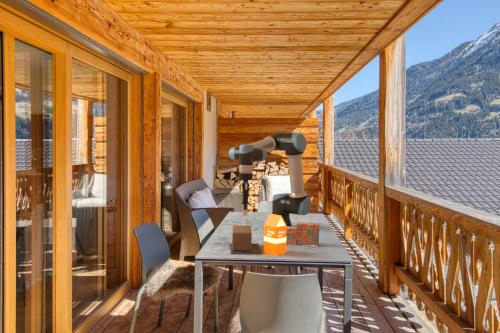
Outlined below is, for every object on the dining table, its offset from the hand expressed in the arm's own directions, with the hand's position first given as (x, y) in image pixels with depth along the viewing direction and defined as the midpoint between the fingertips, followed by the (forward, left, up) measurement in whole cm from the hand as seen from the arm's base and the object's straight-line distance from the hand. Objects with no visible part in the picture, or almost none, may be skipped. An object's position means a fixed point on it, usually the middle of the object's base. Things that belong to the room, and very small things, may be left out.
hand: (245, 215), depth 241 cm
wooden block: (+2, -4, -11) cm, 12 cm away
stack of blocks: (-32, -5, -17) cm, 36 cm away
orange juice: (-15, +15, -17) cm, 27 cm away
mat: (0, +8, -17) cm, 19 cm away
